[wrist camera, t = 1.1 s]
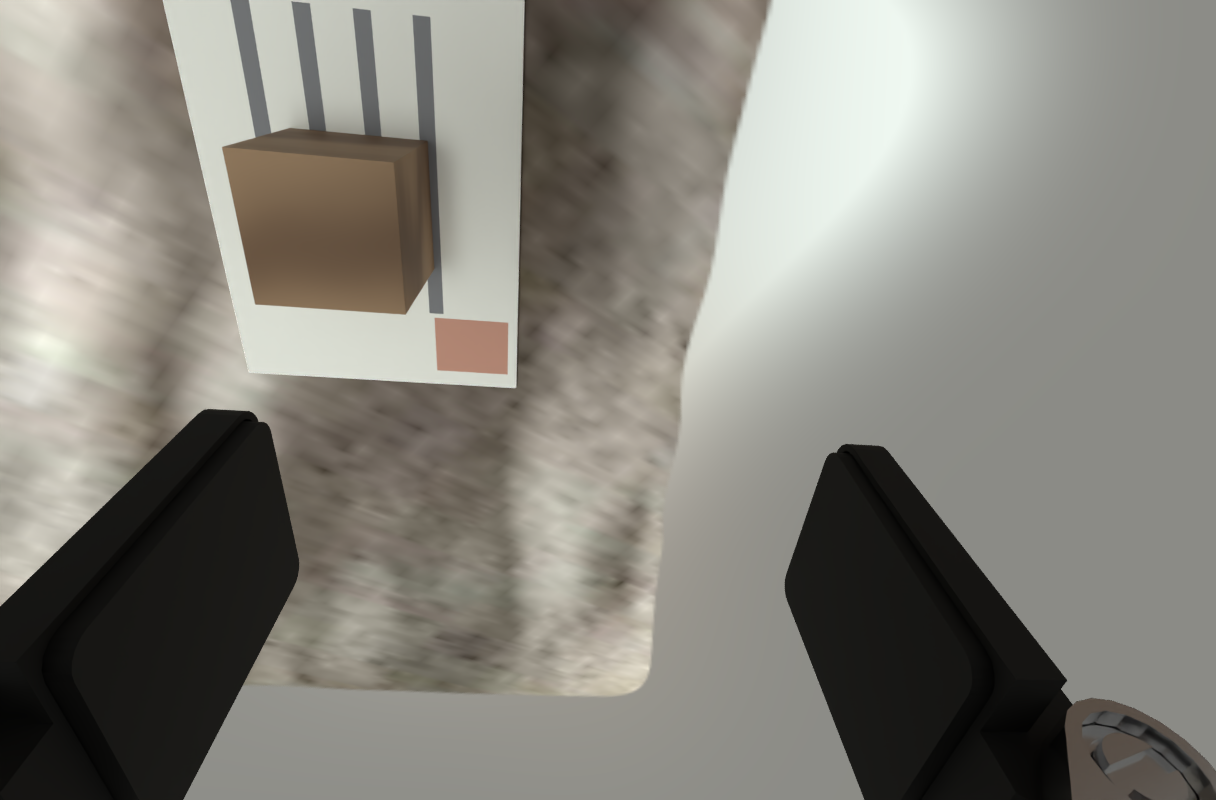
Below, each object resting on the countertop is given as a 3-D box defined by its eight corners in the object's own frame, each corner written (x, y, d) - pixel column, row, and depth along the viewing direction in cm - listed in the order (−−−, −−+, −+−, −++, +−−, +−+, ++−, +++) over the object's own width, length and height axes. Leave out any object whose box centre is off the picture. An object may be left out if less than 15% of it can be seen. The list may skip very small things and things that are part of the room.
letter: (152, -69, 19) (146, -70, 19) (525, -24, 21) (524, -25, 20) (251, 369, 27) (248, 372, 27) (516, 385, 29) (516, 388, 28)
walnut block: (289, 127, 22) (221, 146, 18) (427, 140, 23) (393, 162, 18) (310, 259, 25) (255, 304, 20) (434, 269, 25) (405, 314, 21)
